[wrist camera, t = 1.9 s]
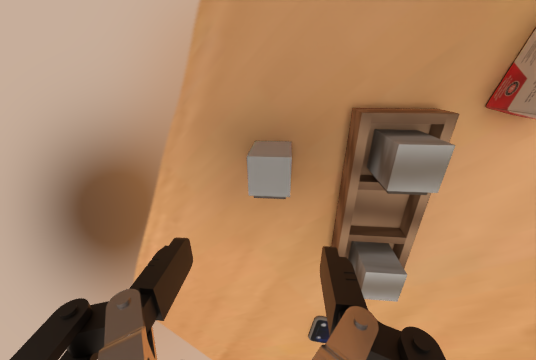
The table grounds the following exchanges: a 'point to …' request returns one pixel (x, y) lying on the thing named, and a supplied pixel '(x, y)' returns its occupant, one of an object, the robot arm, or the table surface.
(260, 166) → the grey cube
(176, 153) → the table surface
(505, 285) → the table surface
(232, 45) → the table surface
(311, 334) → the smartphone
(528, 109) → the ink box
